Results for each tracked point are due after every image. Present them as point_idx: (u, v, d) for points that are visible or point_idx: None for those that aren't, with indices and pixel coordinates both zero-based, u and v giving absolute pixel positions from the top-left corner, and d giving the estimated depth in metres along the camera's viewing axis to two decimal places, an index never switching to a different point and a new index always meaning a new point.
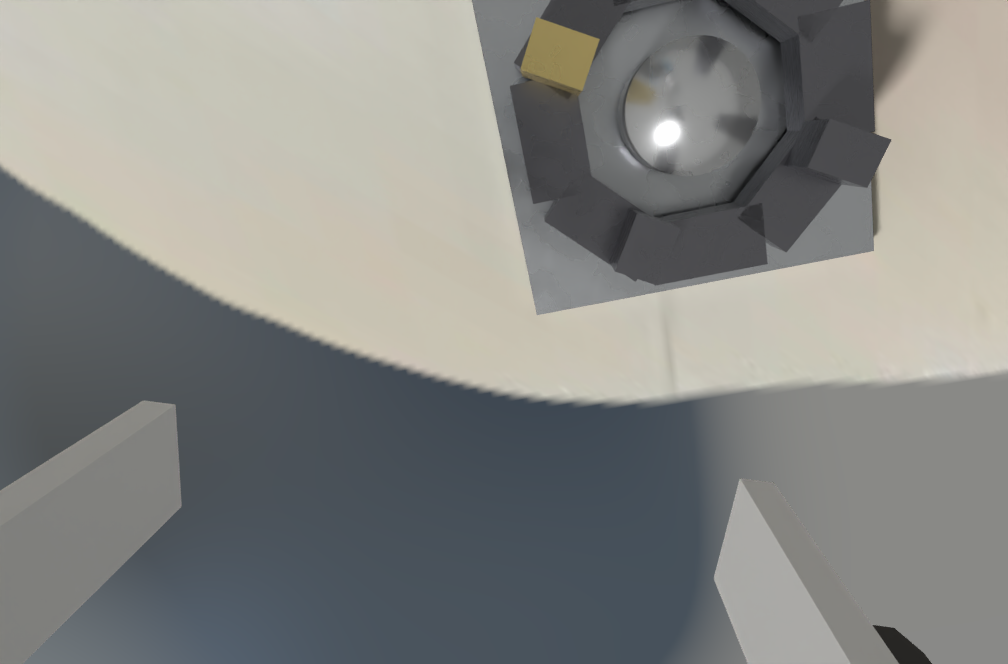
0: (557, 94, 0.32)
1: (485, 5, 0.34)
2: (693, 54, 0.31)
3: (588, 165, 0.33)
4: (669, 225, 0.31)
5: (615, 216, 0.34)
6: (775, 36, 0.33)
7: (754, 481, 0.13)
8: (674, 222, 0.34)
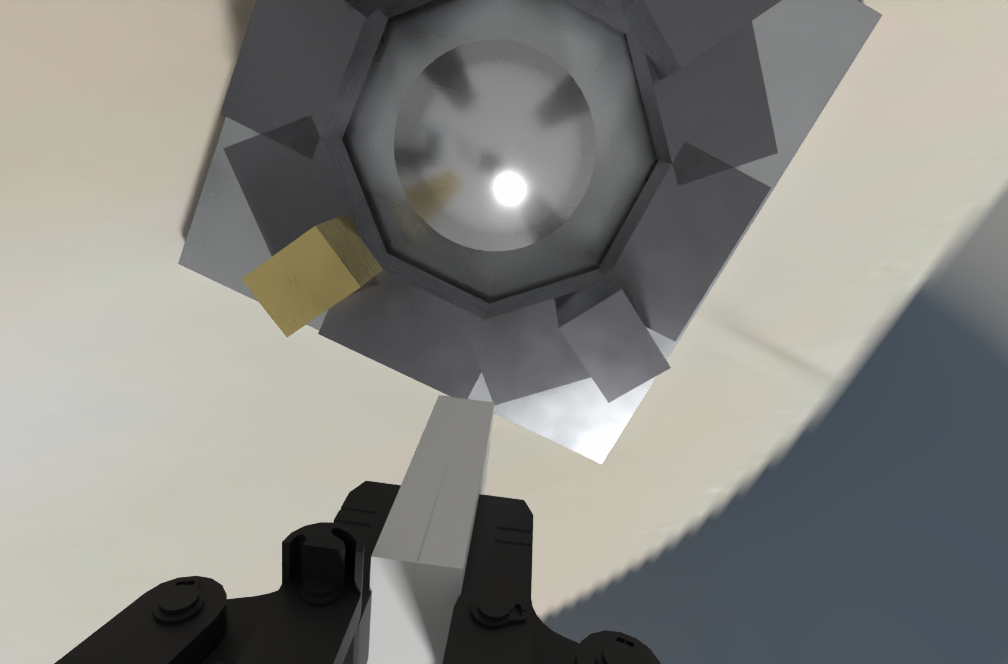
0: (364, 290, 0.23)
1: (237, 275, 0.26)
2: (430, 106, 0.20)
3: (469, 314, 0.23)
4: (606, 300, 0.19)
5: (552, 326, 0.23)
6: None
7: (477, 401, 0.16)
8: (617, 265, 0.22)
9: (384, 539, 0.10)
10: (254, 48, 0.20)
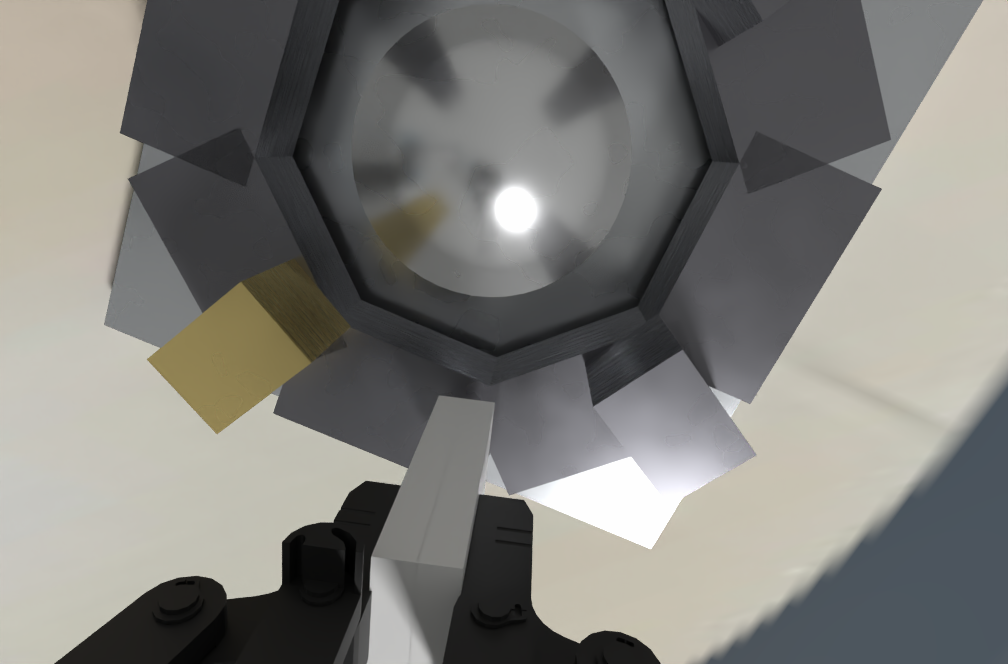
0: (328, 355, 0.17)
1: None
2: (397, 104, 0.15)
3: (469, 380, 0.17)
4: (660, 365, 0.13)
5: (582, 391, 0.17)
6: None
7: (477, 401, 0.16)
8: (666, 306, 0.16)
9: (384, 539, 0.10)
10: (155, 41, 0.15)
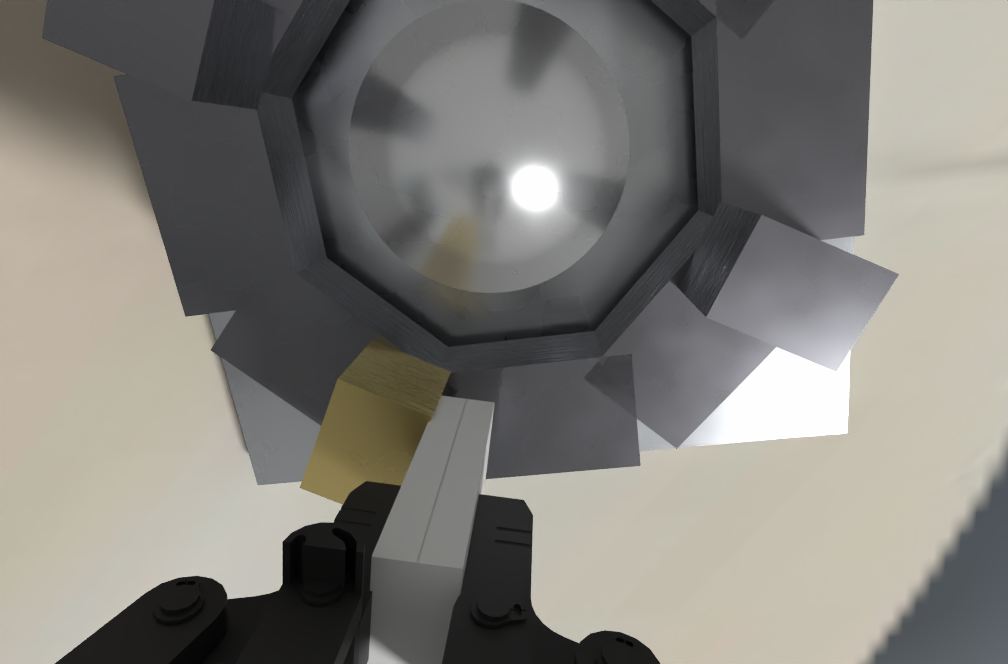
0: None
1: None
2: (384, 156, 0.15)
3: (580, 362, 0.17)
4: (748, 241, 0.13)
5: (690, 315, 0.16)
6: None
7: (477, 401, 0.16)
8: (725, 190, 0.15)
9: (384, 539, 0.10)
10: (172, 225, 0.16)
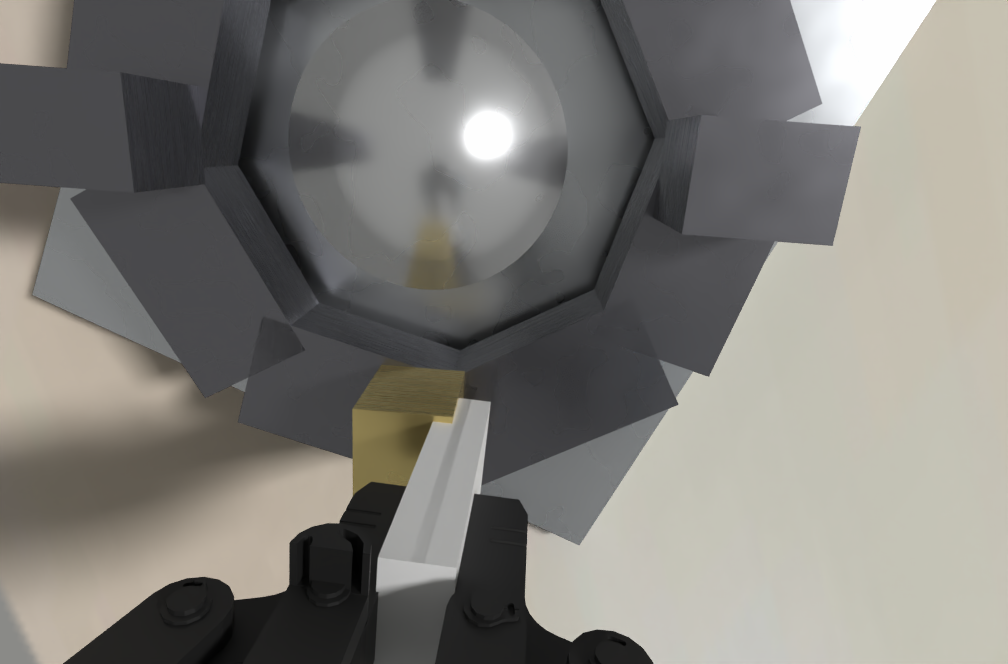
0: None
1: (596, 484, 0.21)
2: (375, 239, 0.16)
3: (584, 322, 0.16)
4: (698, 146, 0.12)
5: (675, 241, 0.16)
6: (263, 12, 0.16)
7: (473, 400, 0.16)
8: (667, 107, 0.15)
9: (390, 540, 0.10)
10: (166, 317, 0.17)
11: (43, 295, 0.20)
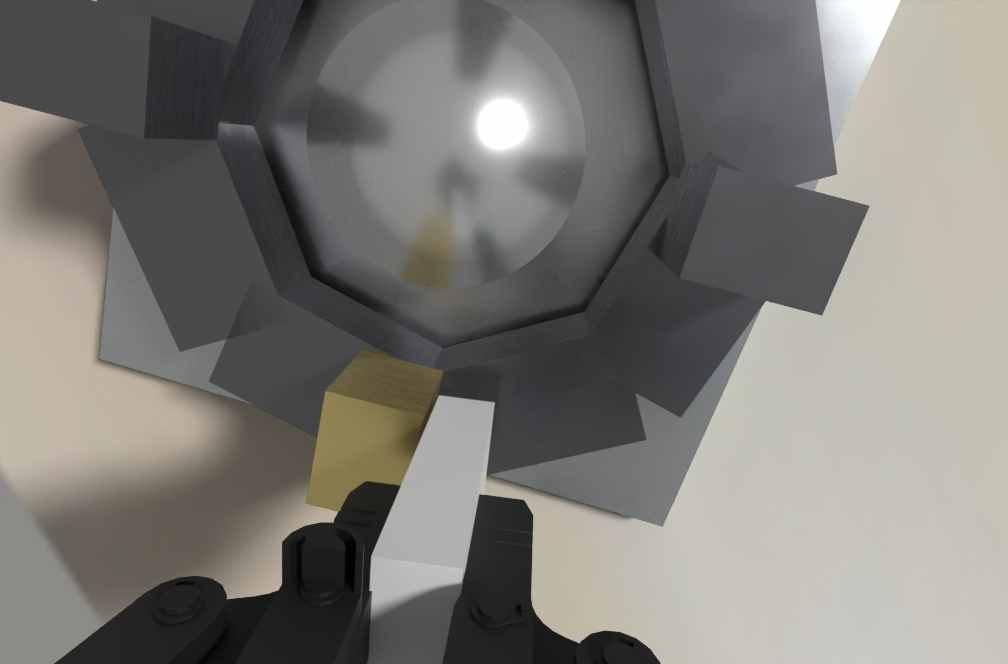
0: None
1: (670, 461, 0.21)
2: (407, 245, 0.16)
3: (569, 343, 0.17)
4: (710, 195, 0.12)
5: (672, 280, 0.16)
6: None
7: (477, 401, 0.16)
8: (687, 149, 0.15)
9: (384, 539, 0.10)
10: (154, 265, 0.17)
11: (109, 357, 0.21)
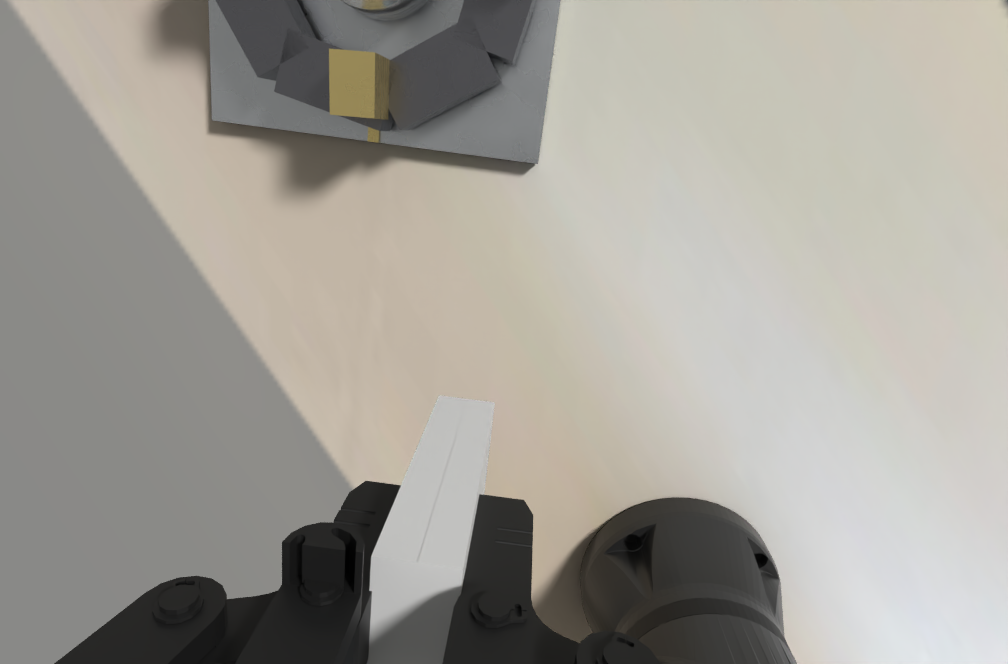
0: (394, 81, 0.34)
1: (532, 119, 0.37)
2: None
3: (448, 29, 0.33)
4: None
5: None
6: None
7: (477, 401, 0.16)
8: None
9: (384, 539, 0.10)
10: (239, 29, 0.33)
11: (217, 118, 0.38)
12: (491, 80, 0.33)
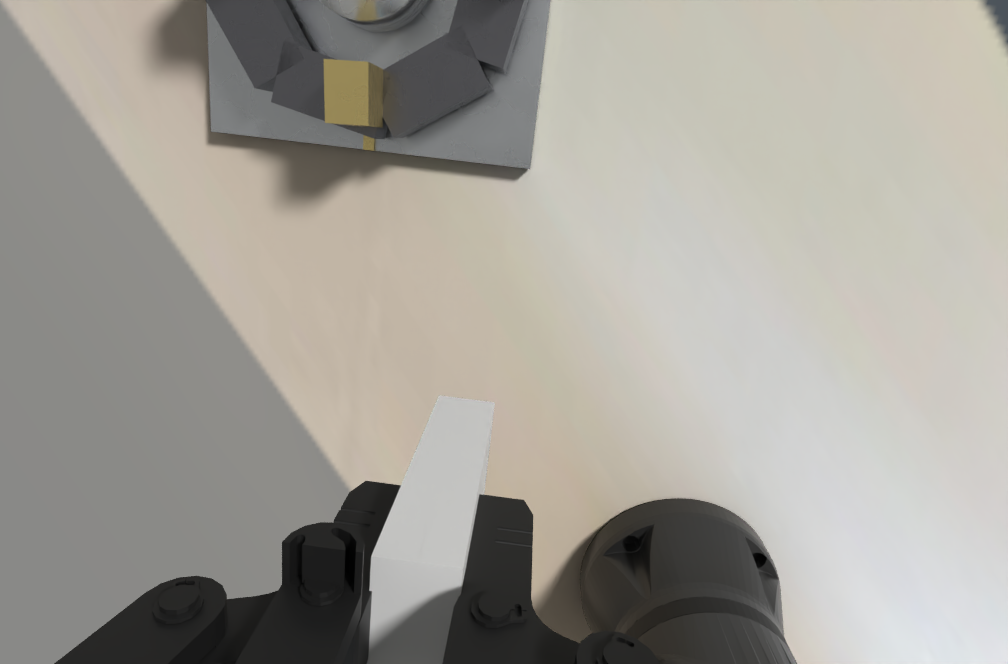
0: (387, 90, 0.35)
1: (523, 126, 0.38)
2: (351, 0, 0.33)
3: (439, 39, 0.34)
4: None
5: None
6: None
7: (477, 401, 0.16)
8: None
9: (384, 539, 0.10)
10: (236, 42, 0.34)
11: (216, 129, 0.39)
12: (482, 87, 0.34)
